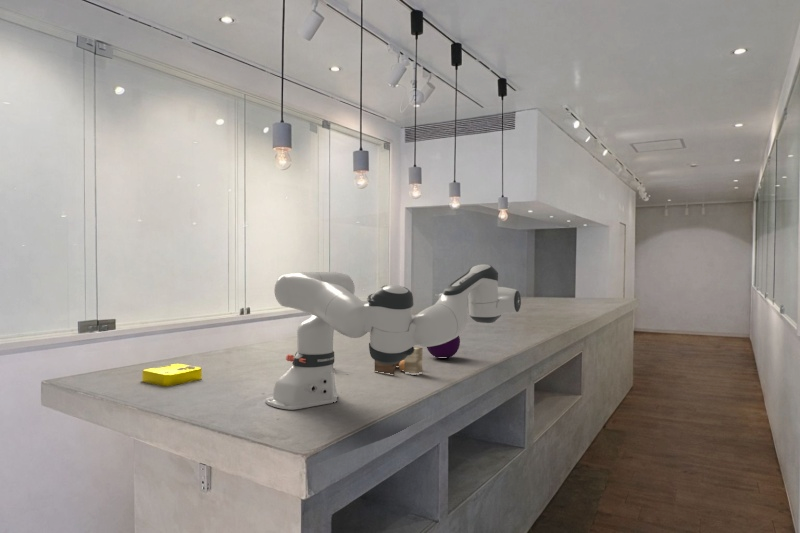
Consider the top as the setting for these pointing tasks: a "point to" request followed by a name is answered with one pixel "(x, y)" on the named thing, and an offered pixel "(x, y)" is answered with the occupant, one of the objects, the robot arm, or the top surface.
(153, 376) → the element tile
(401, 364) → the ball
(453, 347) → the toy ball
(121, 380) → the top surface
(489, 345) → the top surface
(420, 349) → the block
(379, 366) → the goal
